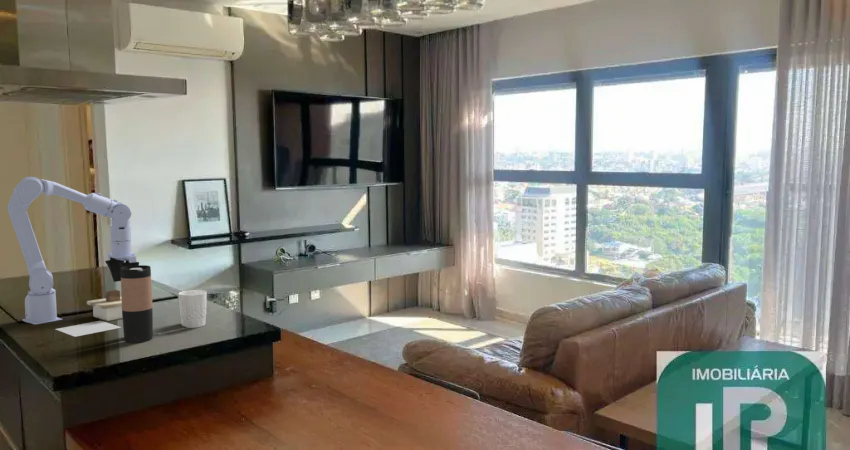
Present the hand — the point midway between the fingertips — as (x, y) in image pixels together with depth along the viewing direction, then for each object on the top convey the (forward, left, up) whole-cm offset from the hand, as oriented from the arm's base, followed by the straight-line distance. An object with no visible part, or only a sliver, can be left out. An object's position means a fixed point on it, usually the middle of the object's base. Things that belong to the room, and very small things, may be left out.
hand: (123, 282), depth 205 cm
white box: (+4, -5, -10) cm, 12 cm away
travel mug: (+34, -13, -10) cm, 38 cm away
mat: (+13, -17, -10) cm, 24 cm away
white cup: (+32, +5, -10) cm, 34 cm away
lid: (+4, -5, -5) cm, 9 cm away
